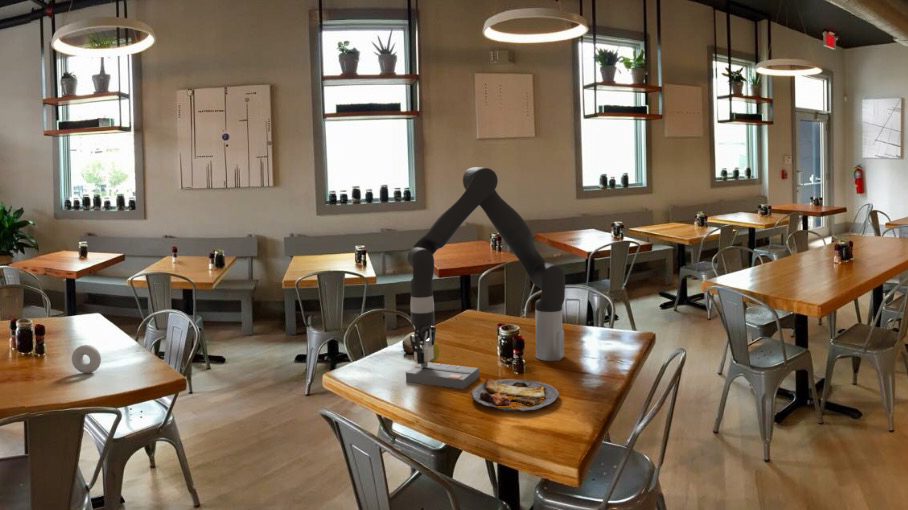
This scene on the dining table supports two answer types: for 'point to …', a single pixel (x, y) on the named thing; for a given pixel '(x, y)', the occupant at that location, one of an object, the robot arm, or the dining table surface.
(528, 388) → the food plate
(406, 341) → the skull
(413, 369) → the slider console
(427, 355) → the fader knob
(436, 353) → the lemon
